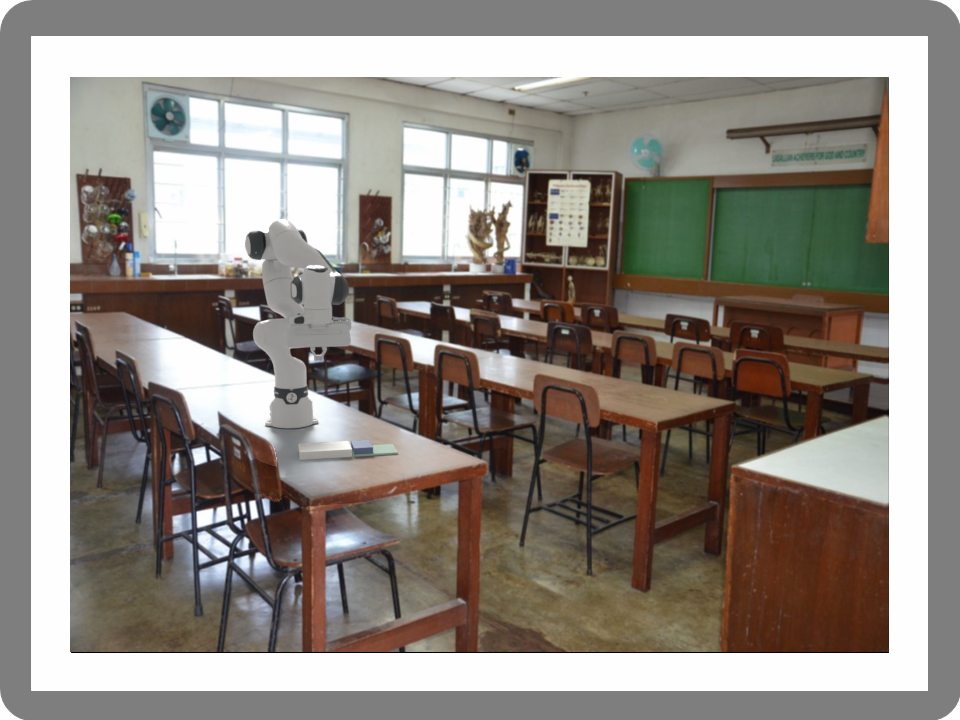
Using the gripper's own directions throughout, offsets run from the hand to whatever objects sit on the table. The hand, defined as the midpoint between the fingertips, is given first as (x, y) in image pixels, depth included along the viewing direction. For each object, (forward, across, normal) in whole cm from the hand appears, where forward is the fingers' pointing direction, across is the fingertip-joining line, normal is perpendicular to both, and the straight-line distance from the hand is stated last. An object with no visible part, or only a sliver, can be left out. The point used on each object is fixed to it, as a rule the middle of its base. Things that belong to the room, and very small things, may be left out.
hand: (318, 360), depth 250 cm
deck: (+29, -1, +6) cm, 30 cm away
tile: (+28, -13, +6) cm, 32 cm away
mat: (+29, -16, +6) cm, 34 cm away
